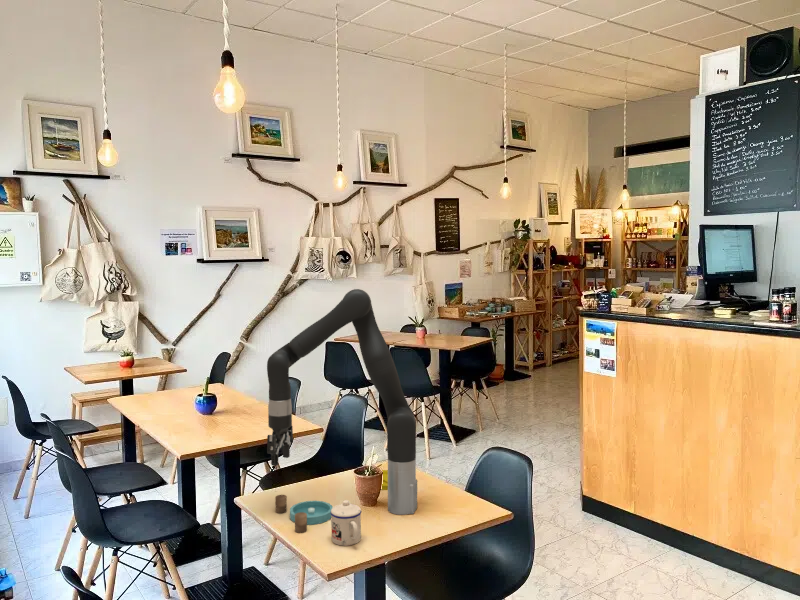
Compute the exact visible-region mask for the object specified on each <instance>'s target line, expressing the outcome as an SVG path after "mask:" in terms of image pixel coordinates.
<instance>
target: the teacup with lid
mask: <svg viewBox="0 0 800 600" xmlns="http://www.w3.org/2000/svg"><path fill="white" fill-rule="evenodd" d="M362 511H363V510H362V509H361V507H360V506H359V505H357V504H353V503H351V502H350V500H348V499H345V500H343V501H342V502H341V503H340V504H336V505H334V506H333V508H332V509H331V519H330V520H331V521H330V522H331V527H330V528H331V541H332V543H333V544H335V545H338V546H344V547H345V546H353V545H356V544H357V543H359V542H360V541H361V540H362V535H361V534H362V530H361V529H362V525H361V523H362V522H361V520H362V517H361V515H362Z"/></svg>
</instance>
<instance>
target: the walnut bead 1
mask: <svg viewBox="0 0 800 600" xmlns="http://www.w3.org/2000/svg"><path fill="white" fill-rule="evenodd" d="M274 501H275V514H277V515H281V514H282V515H283V514H285V513H287V511H288V506H287V495H285V494H277V495H275V498H274Z"/></svg>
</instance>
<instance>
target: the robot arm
mask: <svg viewBox="0 0 800 600" xmlns="http://www.w3.org/2000/svg"><path fill="white" fill-rule="evenodd" d="M350 323H352V325H353V327H354V330H355V332H356V336H357V338H358V344H359V349H360V353H361V357H362V361H363V363H364V367H365V369H366V371H367V375H368V376H369V379H370V380H371V383H372V384H373V386H374V388H375V390H376V391H377V392H378V394H379V396H380V398H381V400H382V403H383V406H384V409H385V413H386V418H387V424H386V430H387V431H386V434H387V435H386V443H387V444H386V445H387V446H386V447H387V448H386V449H387V470H388V490H387V510H388V512H389V513H391V514H394V515H397V516H398V515H401V516H402V515H403V516H405V515H414V514H415V512H416V510H417V508H418V479H417V478H416V477H417V475H416V473H417V471H416V470H417V468H416V465H417V460H416V459H417V425H416V424H417V423H416V422H417V421H416V416H415V414H414V412H413V411H412V409H411V407H410V405H409V402H408V401H407V398H406V396H405V394H404V392H403V388H402V386H401V381H400V377H399V374H398V371H397V368H396V364H395V361H394V358H393V356H392V354H391V353H392V352H391V351H390V349H389V346H388V345H387V342H386V339H385V338H384V335H383V334H382V333H381V330H380V328H379V326H378V323H377V319H376V317H375V313H374V308H373V303H372V300H371V296H370V295H369V294H368V292H366V291H365V290H363V289H360V288H354V289H352V290H349V291H348V292H347V293H345V295H344V296H343V298H342V299H341V300H340V302H338V303H337V304H336V305H335V307H334V308H332V309H331V310H330V311H329V312H328V313H326V315H324V316H323V317H321V318H320V319H318V320H316V322H314V323H312V324H310V325H309V326H307V327H306V328H305V329H304V330H302V331H301V332H299V333H298V334H296V336H295V337H293V338H292V339H291V340H290V341H289V342H287V343H286V344H285V345H283V346H281V347H280V348H278V349H277V350H275V351H274V352H273V353H272V354H271V355H270V356H269V357H268V359H267V362H266V371H267V372H266V374H267V380H268V406H267V413H268V417H267V418H268V428H269V429H271V430H272V432H271V434H267V436H266V437H267V438H266V439H267V440H266V441H267V443H266V446H267V447H266V450H267V451H266V453H267V454H270V463H271V466H273V467H274V466H275V467H277V466H279V453H280V452H279V451H280V449H281V448H282V457H283V458H284V459H288V458H290V456H291V454H290V453H291V452H290V451H291V450H290V446H291V444H292V443H293V442H294V437H293V436H294V432H293V428H294V427H293V406H292V397H291V396H292V395H291V393H292V392H291V391H292V390H291V389H292V387H291V383H290V380H289V378H290V372H289V371H290V368H291V367H292V366H293V365H294V364H296V363H297V362H298V361H299V360H301V359H302V358H304V357H306V356H308V355H309V354H311V353H312V352H313V351H314V350H316V349H317V348H319V346H321V345H322V344H323V343H324V342H326V341H327V340H328V339H329V338H330V337H331V336H332V335H334V334H335V333H336V332H337V331H339V330H341V329H342V328H344V327H345V326H346V325H349V324H350Z"/></svg>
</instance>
